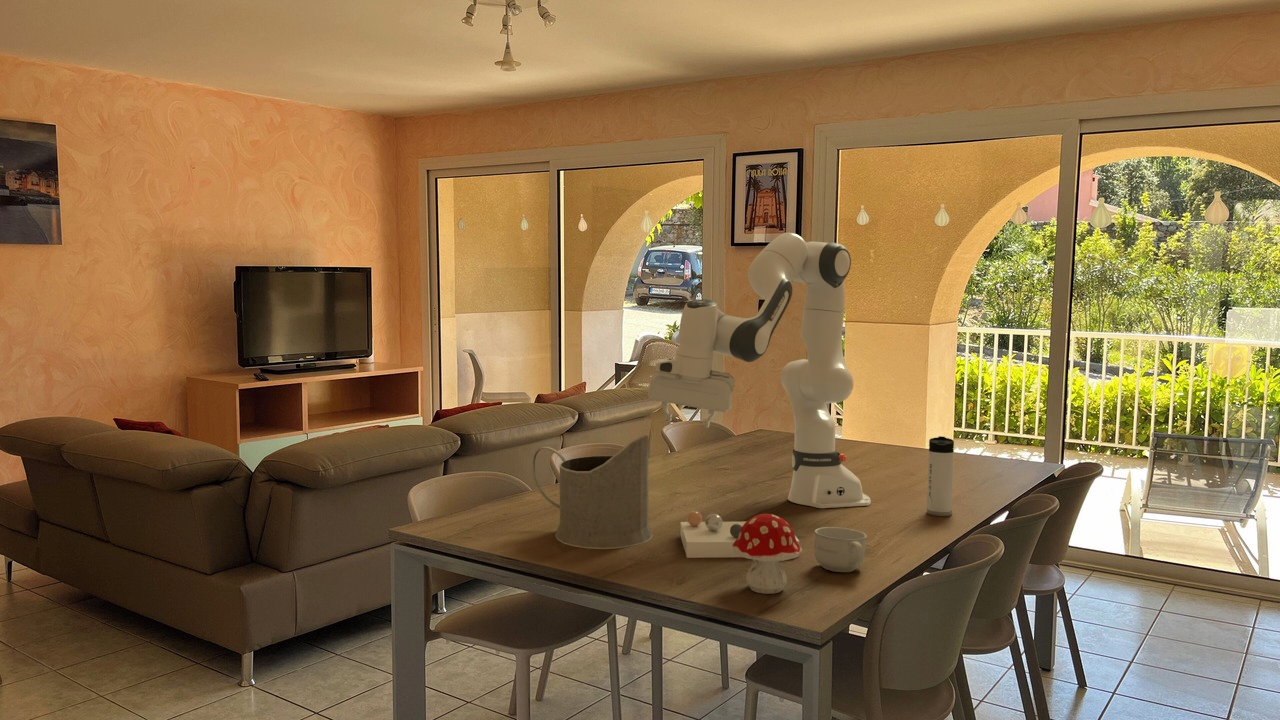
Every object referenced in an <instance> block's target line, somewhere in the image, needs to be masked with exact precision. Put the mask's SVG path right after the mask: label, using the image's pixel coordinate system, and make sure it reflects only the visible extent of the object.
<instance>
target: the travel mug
mask: <svg viewBox="0 0 1280 720" xmlns="http://www.w3.org/2000/svg"><path fill="white" fill-rule="evenodd" d="M928 443H929V444H928V447H929V448H928V458H927V459H928V460H927V461H928V463H927V465H928V466H927V497H926V506H927V507H926V513H927V514H928V515H931V516H935V517H949V516H951V515H952V514H953V494H954V492H953V491H954V488H953V487H954V460H955V459H954V458H955V457H954V453H955V450H954V448H955V441H954V439H951V438H949V437H946V436H939V435H938V436H937V437H931V438H930V439H929V441H928Z"/></svg>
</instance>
